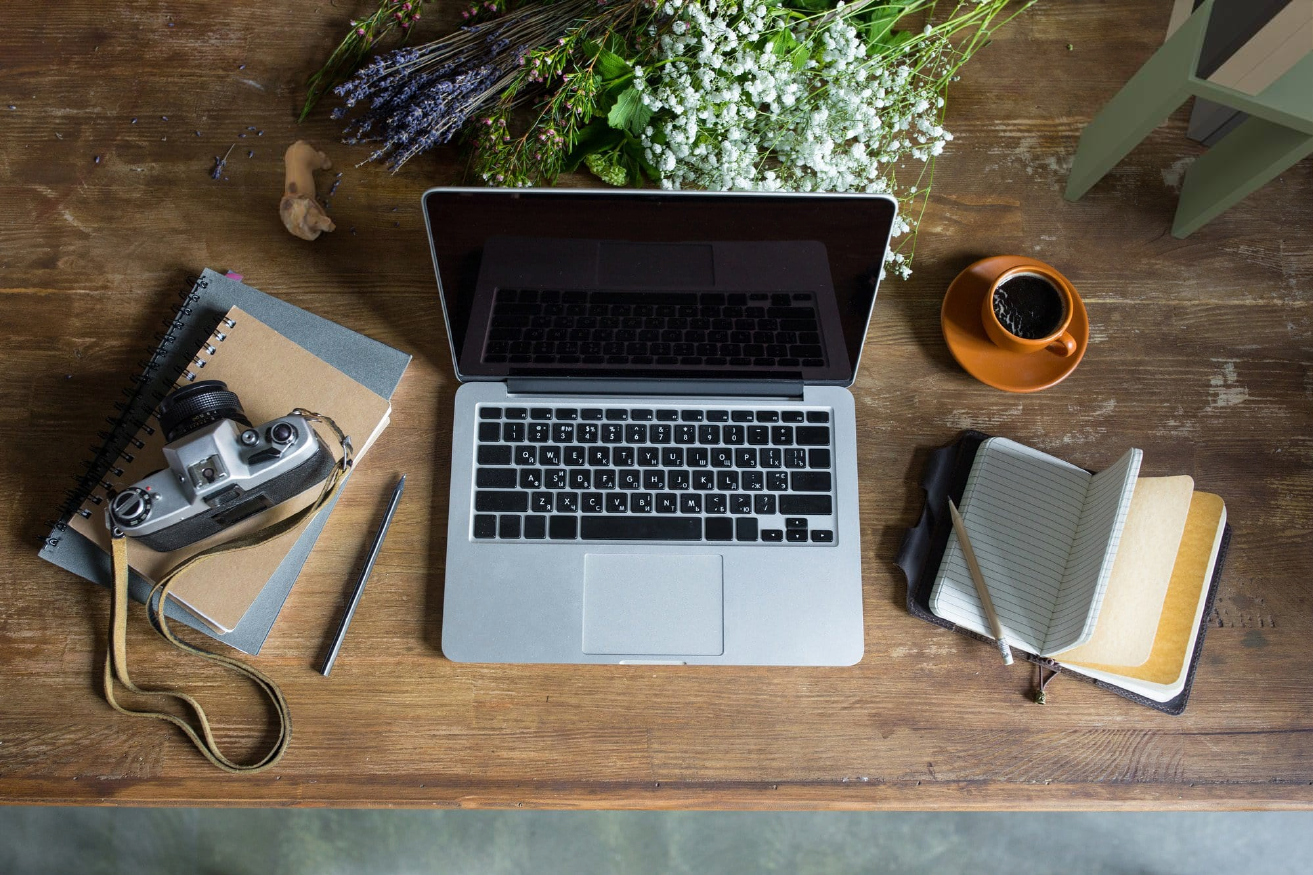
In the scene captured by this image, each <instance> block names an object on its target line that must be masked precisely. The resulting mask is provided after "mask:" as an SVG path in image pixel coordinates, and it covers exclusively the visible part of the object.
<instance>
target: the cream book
mask: <svg viewBox="0 0 1313 875" xmlns="http://www.w3.org/2000/svg"><path fill="white" fill-rule="evenodd" d="M1193 4H1194V0H1175V1H1174V5H1173V8H1172V13H1171V15H1170V20H1169V23H1168V27H1167V31H1166V35H1165V40H1164V43H1165V42H1166V41H1167V40H1168V39H1169V38H1170V37H1171V36H1172V35H1173V34H1174V33H1175V32H1176V31H1177V29H1178V28H1179V27H1180V26H1181V25H1182V24H1183V23H1184V22H1185V21H1186V20H1187V19H1188V18H1189V17H1190V16H1191V12H1192V8H1193Z"/></svg>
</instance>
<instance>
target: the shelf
mask: <svg viewBox="0 0 1313 875" xmlns="http://www.w3.org/2000/svg"><path fill="white" fill-rule="evenodd" d="M1213 2H1214V0H1205V1H1204V2H1203V3H1202V4H1201V5H1200V6H1199V7H1198V8H1197V9H1196V10H1195V11H1194V12H1193V14H1192V15H1191V16H1190V17H1189V18H1188V19H1187V20H1186V21H1185V22H1184V23H1183V24H1182V25H1181V26H1180V27H1179V28H1178V29H1177V31H1176V32H1175V33H1174V34H1173V35H1172V36H1171V37H1170V38H1169V39H1168V40H1167V41H1166V42H1165V41H1164V43H1163V44H1162V45H1161V46H1160V47H1159V48H1158V49H1157V51H1155V52H1154V54H1153V55H1152V56H1151V57H1150V58H1148V60H1147V61H1146V62H1145V63H1144V64H1143V65H1142V66H1141V68H1139V69H1138V70H1137V71H1136V72H1135V74H1134V75H1133V76H1132V77H1130V79H1129V80H1128V81H1127V82H1126V83H1125V85H1124V86H1122V87H1121V89H1119V90H1118V92H1117V93H1115V95H1114V96H1113V97H1112V98H1111V99H1110V100H1109V101H1108V102H1107V104H1105V106H1103V108H1102V109H1101V110H1100V111H1099V112H1098V113H1097V114H1096V115H1095V116H1094V117H1093V118H1092V119H1091V120H1090V121H1089V122H1088V124H1087V125H1086V126H1084V128H1082V130H1081V134H1080V137H1079V141H1078V143H1077V147H1076V150H1075V154H1074V155H1075V156H1074V158H1073V162H1072V165H1071V169H1070V171H1069V172H1070V173H1069V176H1068V179H1067V183H1066V187H1065V190H1064V194H1063V197H1062V199H1064V200H1067V201H1070V202H1073V203H1076V202H1077V201H1078V200H1079V199H1080V198H1082V197H1083V196H1084V195H1085V194H1086V193H1087V192H1088V191H1089V190H1090V189H1091V188H1092V187H1094V186H1095V185H1096V184H1097V183H1098V182H1099V181H1100V180H1101V179H1102V178H1103V177H1104V176H1105V175H1107V174H1108V173H1109V172H1110V171H1111V170H1112V169H1113V168H1114V167H1115V166H1116V165H1117V164H1119V163H1120V162H1121V161H1122V160H1123V159H1125V157H1126V156H1128V154H1129V153H1131V152H1132V150H1134V149H1135V148H1136V147H1137V146H1138V145H1139V144H1140V143H1142V142H1143V141H1144V140H1145V139H1146V138H1147V137H1148V136H1149V135H1150V134H1151V133H1152V132H1154V131H1155V130H1156V129H1157V128H1158V127H1159V126H1160V125H1161V124H1162V123H1164V122H1165V121H1166V119H1168V118H1169V117H1170V116H1171V115H1172V114H1173V113H1174V112H1175V111H1177V110H1178V109H1179V108H1180V107H1181V106H1182V105H1183V104H1184V103H1185V102H1186V101H1187V100H1188V99H1190V98H1191V96H1195V97H1196V96H1199V97H1202V98H1204V99H1207V100H1210V101H1213V102H1216V103H1219V104H1222V105H1225V106H1228V107H1231V108H1234V109H1237V110H1240V111H1243V112H1246V113H1249V114H1252V115H1251V116H1250V117H1249V118H1248V119H1246V120H1245V121H1244V122H1242V123H1241V124H1240V125H1239V126H1237V127H1236V128H1235V129H1234V130H1232V131H1231V132H1230V133H1229V134H1227V135H1226V136H1225V137H1224V138H1222V139H1221V140H1220V141H1219V142H1217V143H1216V144H1215V145H1214V146H1212V147H1211V148H1210V147H1209V149H1207V150H1206V151H1205V152H1204V153H1202V154H1201V155H1200V156H1198V157H1197V158H1196V159H1195V160H1193V161H1192V162H1191V163H1190V164H1188V165H1187V166H1186V170H1185V175H1184V178H1183V183H1182V186H1181V191H1180V195H1179V199H1178V202H1177V207H1176V210H1175V215H1174V218H1173V224H1172V228H1171V231H1170V237H1173V238H1176V239H1178V240H1181V241H1182V240H1184V239H1185V238H1187V237H1188V236H1190V235H1191V234H1193V233H1194V232H1196V231H1197V230H1199V229H1200V228H1203V227H1204V226H1205V225H1206V224H1208V223H1209V222H1211V221H1213V220H1214V219H1215V218H1217V217H1219V216H1220V215H1221V214H1223V213H1224V212H1226V211H1228V210H1229V209H1230V208H1232V207H1233V206H1235V205H1236V204H1238V203H1239V202H1241V201H1242V200H1244V199H1245V198H1246V197H1248V196H1250V195H1252V194H1253V193H1254V192H1256V191H1257V190H1259V189H1260V188H1261V187H1263V186H1265V185H1266V184H1267V183H1269V182H1271V181H1272V180H1273V179H1275V178H1277V177H1278V176H1280V175H1281V174H1282V173H1284V172H1286V171H1287V170H1288V169H1290V168H1291V167H1293V166H1295V165H1296V164H1297V163H1299V162H1300V161H1302V160H1304V159H1305V158H1306V157H1308V156H1309V155H1311V154H1312V153H1313V50H1312V51H1310V52H1309V53H1308V54H1307V55H1305V56H1304V57H1303V58H1302V59H1301V60H1299V61H1298V62H1297V63H1296V64H1294V65H1293V66H1292V67H1291V68H1290V69H1288V70H1287V71H1286V72H1285V73H1284V74H1282V75H1281V76H1280V77H1279V78H1277V79H1276V80H1275V81H1274V82H1273V83H1271V84H1270V85H1269V86H1268V87H1266V88H1265V89H1264V90H1263V91H1262V92H1260V93H1259V94H1258V95H1257V96H1256V97H1254V96H1251V95H1248V94H1245V93H1242V92H1239V91H1236V90H1233V89H1231V88H1227V87H1224V86H1221V85H1218V84H1215V83H1212V82H1209V81H1207V80H1206V79H1207V78H1206V79H1205V80H1204V79H1201V78H1198V77H1195V75H1196V71H1197V67H1198V62H1199V58H1200V54H1201V50H1202V46H1203V42H1204V38H1205V34H1206V30H1207V26H1208V22H1209V18H1210V14H1211V10H1212V6H1213Z"/></svg>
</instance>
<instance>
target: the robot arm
mask: <svg viewBox="0 0 1313 875" xmlns="http://www.w3.org/2000/svg"><path fill="white" fill-rule="evenodd" d="M1204 1H1205V0H1194V4H1193V8H1192V12H1191V15H1192V14H1193V12H1194V11H1195V10H1196V9H1197V8H1198V7H1199V6H1200V5H1201V4H1202V3H1203V2H1204Z"/></svg>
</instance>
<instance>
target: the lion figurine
mask: <svg viewBox="0 0 1313 875" xmlns="http://www.w3.org/2000/svg"><path fill="white" fill-rule="evenodd" d="M284 163H285V164H284V165H285V182H284V183H285V184H284V191H285V192H284V196H282V198H281V201H280V204H279V215H280V219H281V221H282V223H283V224H284V226H285V228H286V229H287V231H288V232H289V233H290V234H292V235H293V236H297V237H298V238H301V239H302V240H306V241H314V240H315V239H316V238H318V237H319V236H320V235H321V232H326V233H333V232H334V231H335V229H336V228H337V226H336V225H335V224H334V223H333V222H332V220H331V218H330V217H327V214H326V212H325V211H324V209H323V208H322V207H321V206H320V204H319V203H318V202H317V200H316V184H315V179H314V177H313V171H314V170H319V169H320V168H322V169H323V170H326V171H329V170H330V169H331V168H332V167H333V164H332V161H331V160H330V159H329V157H328V156H327V155H326V154H325V153H324V152H323V151H316V150H315V149H314V148H313V147H312V146H311V145H310V144H309V143H308V142H307V141H305V140H303V139H302V140H301V139H299V140H297V141H296V142H295V143H294V144H292V145H290V146H289V147H288V148H287V150H286V153H285V155H284Z"/></svg>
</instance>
